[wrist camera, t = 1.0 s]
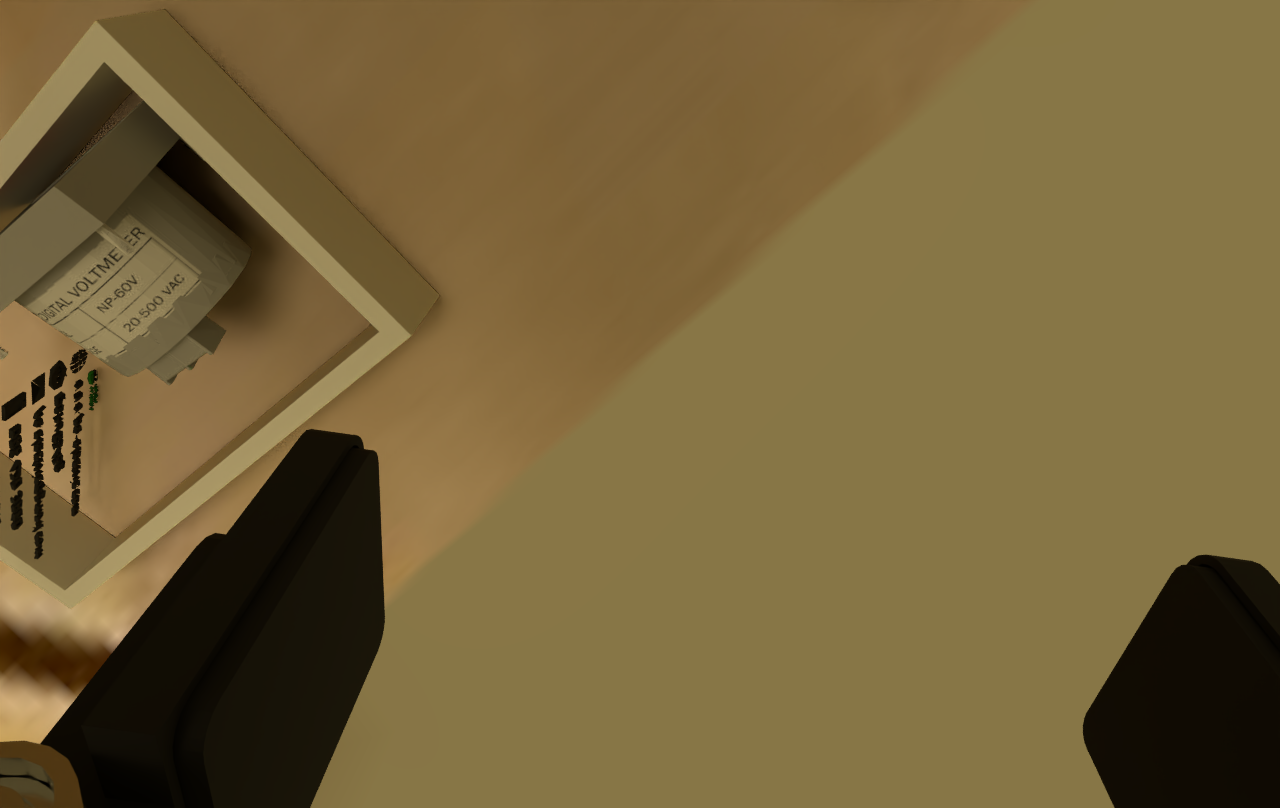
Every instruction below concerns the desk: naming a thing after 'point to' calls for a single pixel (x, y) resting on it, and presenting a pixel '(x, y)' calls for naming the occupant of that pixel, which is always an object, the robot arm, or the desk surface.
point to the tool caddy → (272, 184)
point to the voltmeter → (114, 277)
